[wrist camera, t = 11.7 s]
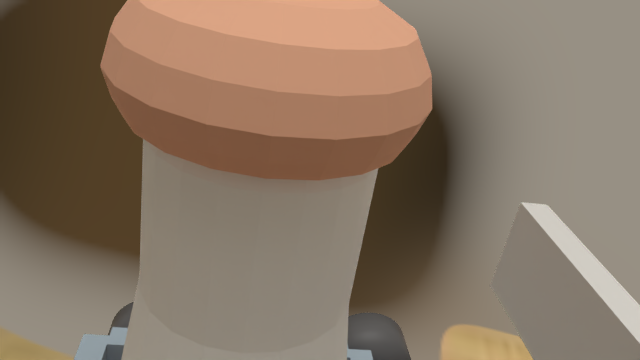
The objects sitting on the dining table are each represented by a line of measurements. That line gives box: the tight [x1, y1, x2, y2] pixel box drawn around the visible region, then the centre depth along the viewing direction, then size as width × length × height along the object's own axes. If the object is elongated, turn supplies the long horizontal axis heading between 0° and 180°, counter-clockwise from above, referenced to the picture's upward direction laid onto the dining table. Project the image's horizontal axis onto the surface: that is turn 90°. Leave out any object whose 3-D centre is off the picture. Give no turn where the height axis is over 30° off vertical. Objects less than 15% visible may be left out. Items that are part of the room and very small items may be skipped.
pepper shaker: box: [100, 0, 432, 360], centre depth 15 cm, size 7×7×19 cm
